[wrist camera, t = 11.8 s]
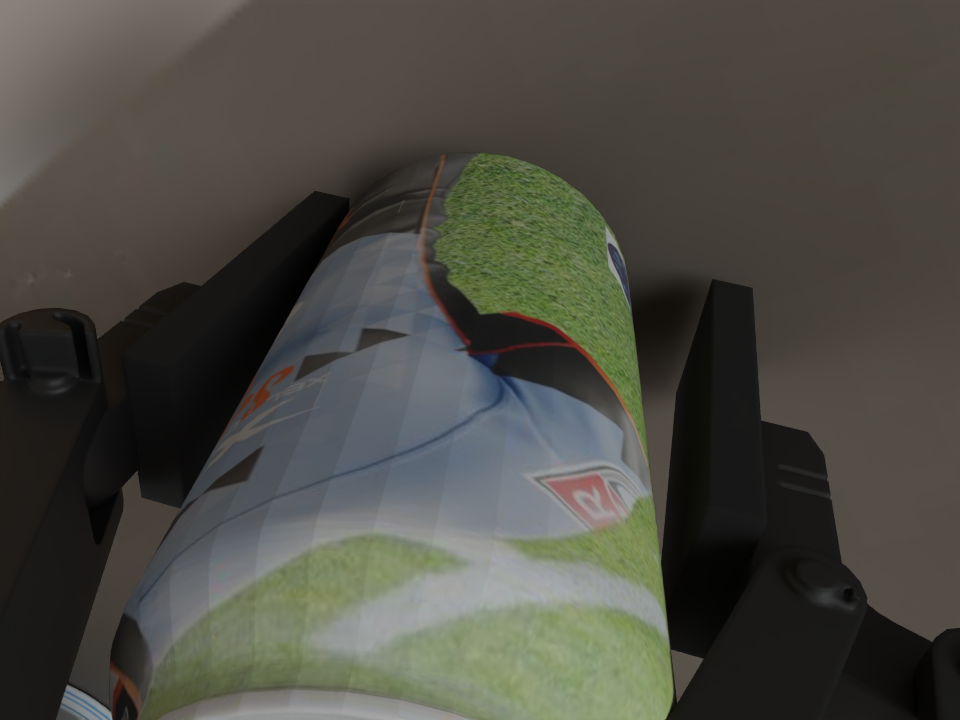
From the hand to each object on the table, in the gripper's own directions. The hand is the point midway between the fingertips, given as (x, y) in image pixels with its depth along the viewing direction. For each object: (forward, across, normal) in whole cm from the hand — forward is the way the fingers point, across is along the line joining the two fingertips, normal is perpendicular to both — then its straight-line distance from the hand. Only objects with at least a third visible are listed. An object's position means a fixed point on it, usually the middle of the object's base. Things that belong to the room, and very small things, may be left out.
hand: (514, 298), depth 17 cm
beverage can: (+1, 0, 0) cm, 1 cm away
